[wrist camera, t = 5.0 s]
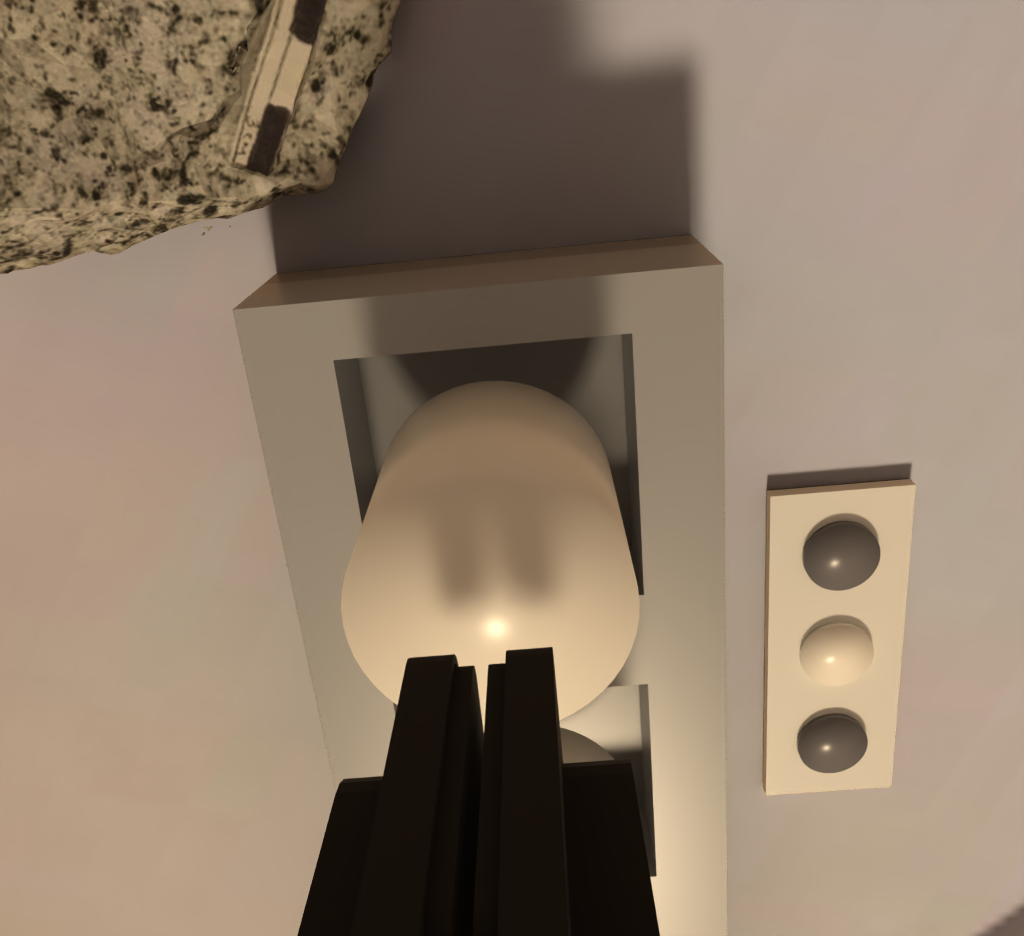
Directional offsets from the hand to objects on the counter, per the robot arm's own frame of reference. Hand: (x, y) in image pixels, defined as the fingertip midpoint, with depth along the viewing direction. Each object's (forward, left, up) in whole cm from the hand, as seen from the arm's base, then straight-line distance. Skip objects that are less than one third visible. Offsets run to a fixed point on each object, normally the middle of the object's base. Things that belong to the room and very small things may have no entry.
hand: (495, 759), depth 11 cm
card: (+5, +7, -9) cm, 13 cm away
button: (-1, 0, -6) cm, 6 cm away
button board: (+6, 0, -9) cm, 11 cm away
